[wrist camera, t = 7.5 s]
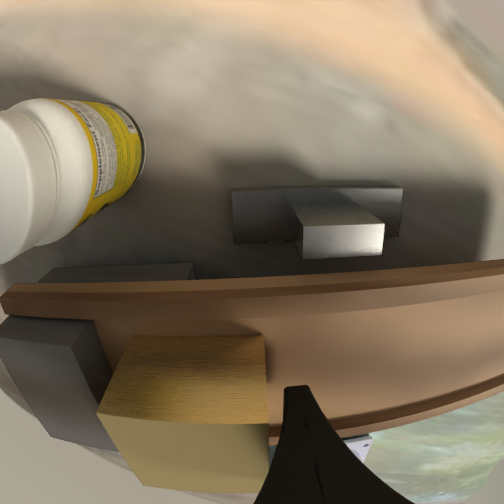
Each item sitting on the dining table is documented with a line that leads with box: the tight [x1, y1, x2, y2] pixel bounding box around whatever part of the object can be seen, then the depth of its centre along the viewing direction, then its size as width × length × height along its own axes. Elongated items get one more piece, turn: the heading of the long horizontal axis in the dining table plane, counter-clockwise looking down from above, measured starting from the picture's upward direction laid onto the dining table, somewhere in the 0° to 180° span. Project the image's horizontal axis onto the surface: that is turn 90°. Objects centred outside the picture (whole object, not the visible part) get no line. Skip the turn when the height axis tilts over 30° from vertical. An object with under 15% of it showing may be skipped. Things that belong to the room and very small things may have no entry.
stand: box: [231, 186, 403, 259], centre depth 15 cm, size 13×8×4 cm, turn 2°
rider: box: [96, 335, 269, 493], centre depth 10 cm, size 5×5×4 cm
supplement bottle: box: [0, 98, 146, 264], centre depth 9 cm, size 5×5×8 cm
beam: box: [0, 259, 504, 452], centre depth 13 cm, size 9×28×6 cm, turn 93°
